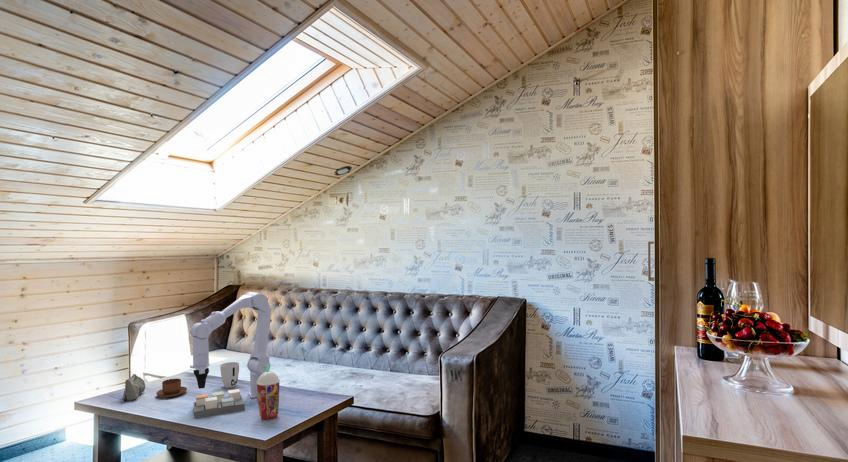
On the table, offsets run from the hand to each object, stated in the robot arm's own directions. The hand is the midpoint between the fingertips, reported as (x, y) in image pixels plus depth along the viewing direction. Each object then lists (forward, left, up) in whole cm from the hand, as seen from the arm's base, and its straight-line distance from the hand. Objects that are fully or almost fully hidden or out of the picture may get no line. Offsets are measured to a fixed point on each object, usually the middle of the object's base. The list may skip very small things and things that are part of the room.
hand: (201, 387), depth 202 cm
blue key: (-9, +6, -8) cm, 14 cm away
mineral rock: (+25, -34, -9) cm, 43 cm away
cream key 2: (-12, 0, -7) cm, 14 cm away
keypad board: (-6, +3, -9) cm, 11 cm away
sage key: (-6, 0, -7) cm, 9 cm away
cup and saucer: (+11, -28, -9) cm, 31 cm away
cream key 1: (-3, +6, -7) cm, 10 cm away
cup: (-13, -28, -9) cm, 32 cm away
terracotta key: (0, 0, -7) cm, 7 cm away
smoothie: (-22, +23, -9) cm, 33 cm away
